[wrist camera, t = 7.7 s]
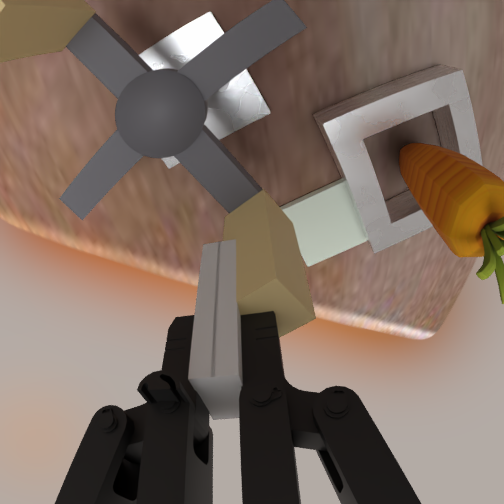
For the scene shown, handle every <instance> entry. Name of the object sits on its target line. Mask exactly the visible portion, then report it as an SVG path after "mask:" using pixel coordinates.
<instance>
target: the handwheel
mask: <svg viewBox="0 0 504 504" xmlns="http://www.w3.org/2000/svg"><path fill="white" fill-rule="evenodd" d="M306 28H307V27H306V26H305V25H304V23H303V22H302V21H301V20H300V19H299V17H298V16H297V15H296V14H295V13H294V11H293V10H292V9H291V8H290V7H289V6H288V4H287V3H286V2H285V1H284V0H272V1H271V2H269V3H268V4H266V5H264V6H263V7H261V8H260V9H258V10H257V11H255V12H254V13H252V14H251V15H249V16H248V17H246V18H245V19H244V20H242V21H241V22H239V23H238V24H236V25H235V26H234V27H232V28H231V29H230V30H228V31H227V32H226V33H224V34H223V35H221V36H220V37H219V38H218V39H216V40H215V41H214V42H212V43H211V44H210V45H208V46H207V47H206V48H205V49H203V50H202V51H201V52H200V53H198V54H197V55H196V56H195V57H194V58H192V59H191V60H190V61H189V62H188V63H186V64H185V65H184V66H183V67H182V68H181V69H179V70H177V69H172V68H163V69H157V70H153V69H152V68H151V67H150V66H149V65H148V64H147V63H146V62H145V61H144V60H143V59H142V58H141V57H140V56H139V55H138V54H137V53H136V52H135V51H134V50H133V49H132V48H131V47H130V46H129V45H128V44H127V43H126V42H125V41H124V40H123V39H122V38H121V37H120V36H119V35H118V34H117V33H116V32H115V31H114V30H113V29H112V28H110V27H109V26H108V25H107V24H106V23H105V22H104V21H103V20H102V19H101V18H100V17H99V16H98V15H97V14H96V11H95V10H94V9H93V8H92V7H90V6H89V5H88V4H87V3H86V2H85V1H84V0H0V63H1V62H6V61H10V60H15V59H19V58H24V57H30V56H35V55H41V54H47V53H53V52H60V51H62V50H63V49H64V48H65V47H67V48H68V49H69V50H70V51H71V52H72V53H73V54H74V55H75V56H76V57H77V58H78V59H79V60H80V61H81V62H82V63H83V64H84V65H85V66H86V67H87V68H88V69H89V70H90V71H91V72H92V73H93V74H94V75H95V76H96V77H97V78H98V79H99V80H100V81H101V82H102V83H103V84H104V85H105V86H106V87H107V88H108V89H109V90H110V91H111V92H112V93H113V94H114V95H115V96H116V98H117V99H118V101H117V104H116V109H115V121H116V126H117V130H116V131H115V132H114V133H113V135H112V136H111V137H110V138H109V139H108V140H107V141H106V142H105V143H104V144H103V146H102V147H101V148H100V149H99V150H98V151H97V152H96V154H95V155H94V156H93V157H92V158H91V159H90V161H89V162H88V163H87V164H86V165H85V167H84V168H83V169H82V170H81V172H80V173H79V174H78V175H77V176H76V178H75V179H74V180H73V181H72V183H71V184H70V185H69V187H68V188H67V189H66V190H65V192H64V193H63V194H62V196H61V197H60V198H59V199H60V200H61V201H62V202H63V203H64V204H65V205H66V206H68V207H69V208H70V209H71V210H72V211H73V212H74V213H75V214H76V215H77V216H78V217H79V218H80V219H81V220H83V219H84V218H85V217H86V216H87V215H88V213H89V212H90V211H91V210H92V209H93V208H94V207H95V206H96V204H97V203H98V202H99V201H100V200H101V199H102V198H103V197H104V196H105V195H106V194H107V192H108V191H109V190H110V189H111V188H112V187H113V186H114V185H115V184H116V183H117V182H118V181H119V180H120V179H121V178H122V177H123V176H124V175H125V174H126V173H127V172H128V171H129V170H130V169H131V168H132V167H133V166H134V165H135V164H136V163H137V162H138V161H139V160H140V159H141V158H142V157H143V156H147V157H151V158H167V157H171V156H174V157H175V158H176V159H177V160H178V161H179V162H180V163H181V164H182V165H183V166H184V167H185V168H186V169H187V170H188V171H189V172H190V173H191V174H192V175H193V176H194V177H195V178H196V179H197V180H198V181H199V182H200V184H201V185H202V186H203V187H204V188H205V189H206V190H207V191H208V192H209V193H210V194H211V195H212V196H213V197H214V198H215V199H216V200H217V201H218V202H219V203H220V204H221V205H222V206H223V207H224V208H225V209H226V210H227V212H228V213H229V214H228V215H227V216H225V221H224V232H223V241H227V240H233V239H236V302H237V304H238V308H239V312H240V315H246V314H253V313H261V312H268V311H274V313H275V315H276V321H277V327H278V333H279V338H280V337H281V336H283V335H285V334H287V333H289V332H291V331H293V330H295V329H297V328H299V327H301V326H303V325H305V324H307V323H308V322H310V321H312V320H314V319H315V318H316V316H315V312H314V307H313V303H312V299H311V294H310V290H309V286H308V282H307V278H306V273H305V269H304V265H303V261H302V257H301V253H300V249H299V245H298V241H297V237H296V233H295V229H294V225H293V223H292V221H291V220H290V219H289V218H288V217H287V215H286V214H285V213H284V212H283V211H282V210H281V208H280V207H279V206H278V205H277V204H276V202H275V201H274V200H273V199H272V198H271V197H270V195H269V194H268V193H267V192H266V191H265V190H264V189H262V188H261V187H260V186H259V185H258V183H257V182H256V181H255V180H254V179H253V178H252V177H251V175H250V174H249V173H248V172H247V171H246V170H245V169H244V167H243V166H242V165H241V164H240V163H239V162H238V161H237V160H236V158H235V157H234V156H233V155H232V154H231V153H230V152H229V151H228V149H227V148H226V147H225V146H224V145H223V144H222V143H221V142H220V141H219V140H218V138H217V137H216V136H215V135H214V134H213V133H212V132H211V131H210V130H209V129H208V127H207V126H206V125H205V121H206V118H207V113H208V103H207V99H208V98H209V97H210V96H212V95H213V94H214V93H215V92H217V91H218V90H219V89H220V88H222V87H223V86H224V85H225V84H227V83H228V82H229V81H231V80H232V79H233V78H234V77H236V76H237V75H238V74H240V73H241V72H242V71H244V70H245V69H247V68H248V67H249V66H251V65H252V64H253V63H255V62H256V61H258V60H259V59H260V58H262V57H263V56H265V55H266V54H268V53H269V52H270V51H272V50H273V49H275V48H276V47H278V46H279V45H281V44H282V43H284V42H285V41H287V40H288V39H290V38H291V37H293V36H294V35H296V34H298V33H299V32H301V31H302V30H304V29H306Z"/></svg>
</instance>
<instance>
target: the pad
mask: <svg viewBox="0 0 504 504" xmlns="http://www.w3.org/2000/svg"><path fill="white" fill-rule="evenodd" d="M280 208H281V210H282V211H283V212H284V213H285V214H286V215H287V217H288V218H289V219H290V220H291V221H292V223H293V225H294V229H295V233H296V237H297V241H298V245H299V249H300V253H301V255H302V257H303V259H304V261H305V263H306V264H307V266H308V267H309V266H311V265H313V264H316V263H318V262H320V261H323V260H325V259H327V258H330V257H332V256H334V255H336V254H339V253H341V252H343V251H345V250H348V249H350V248H352V247H354V246H357V245H359V244H361V243H363V242H365V241H367V239H366V237H365V235H364V232H363V229H362V227H361V224H360V221H359V219H358V216H357V213H356V211H355V208H354V206H353V203H352V201H351V198H350V196H349V193H348V191H347V188H346V186H345V183H344V181H343V180H342V179H340V180H337V181H335V182H333V183H331V184H329V185H326V186H324V187H322V188H320V189H318V190H315V191H313V192H311V193H309V194H307V195H305V196H302V197H300V198H298V199H296V200H294V201H292V202H290V203H287V204H285V205H283V206H281V207H280Z"/></svg>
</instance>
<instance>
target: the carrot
mask: <svg viewBox="0 0 504 504" xmlns="http://www.w3.org/2000/svg"><path fill="white" fill-rule="evenodd" d="M399 166H400V171H401V175H402V177H403V179H404V181H405V183H406V184H407V186H408V188H409V190H410V191H411V193H412V195H413V197H414V198H415V200H416V201H417V203H418V204H419V206H420V208H421V209H422V211H423V213H424V214H425V216H426V217H427V218H428V220H429V221H430V222H431V224H432V225H433V227H434V228H435V229H436V231H437V232H438V233H439V235H440V236H441V237H442V239H443V240H444V242H445V243H446V244H447V246H448V247H449V248H450V250H451V251H452V252H453V253H454V254H455V255H457V256H458V257H482V256H484V261H483V265H482V267H481V268H480V269H479V270H478V272H477V273H476V275H477V276H478V277H479V278H480V279H481V280H484V279H487V278H488V277H489V276H490V275H491V274H492V273H493V272H494V270H495V273H496V277H497V281H498V285H499V291H500V297H501V301H502V304H504V264H503V261H502V258H501V256H502V255H504V182H503V181H502V180H501V179H500V178H499V177H498V176H496V175H495V174H493V173H492V172H490V171H489V170H487V169H486V168H484V167H483V166H481V165H480V164H478V163H477V162H475V161H473V160H471V159H470V158H468V157H466V156H464V155H463V154H460V153H458V152H455V151H452V150H449V149H446V148H443V147H439V146H435V145H429V144H423V143H411V144H408V145H406V146H404V147H403V148H402V149H400V155H399Z"/></svg>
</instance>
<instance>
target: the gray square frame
mask: <svg viewBox="0 0 504 504" xmlns="http://www.w3.org/2000/svg"><path fill="white" fill-rule="evenodd" d="M430 111H432V112H433V115H434V119H435V122H436V126H437V130H438V134H439V138H440V142H441V146H442V147H443V148H446V149H449V150H452V151H455V152H458V153H460V154H463V155H464V156H466V157H468V158H470V159H471V160H473V161H475V162H477V163H478V164H480V165H481V166H482V159H481V152H480V146H479V140H478V134H477V128H476V123H475V118H474V114H473V109H472V105H471V100H470V96H469V92H468V88H467V84H466V81H465V77H464V74H463V70H461V69H457V68H453V67H449V66H444V65H437V66H434V67H431V68H428V69H425V70H422V71H419V72H416V73H413V74H410V75H408V76H405V77H402V78H399V79H397V80H394V81H391V82H389V83H386V84H383V85H381V86H378V87H376V88H373V89H371V90H368V91H366V92H363V93H361V94H358V95H356V96H353V97H351V98H348V99H346V100H344V101H341V102H339V103H337V104H334V105H332V106H330V107H327V108H325V109H323V110H321V111H318V112H316V113H314V114H313V116H314V118H315V120H316V122H317V124H318V127H319V129H320V131H321V133H322V135H323V137H324V139H325V142H326V144H327V146H328V148H329V150H330V153H331V155H332V157H333V159H334V162H335V164H336V166H337V169H338V171H339V173H340V176H341V178H342V180H343V181H344V183H345V186H346V188H347V191H348V193H349V196H350V198H351V201H352V203H353V206H354V208H355V211H356V213H357V216H358V219H359V221H360V224H361V227H362V229H363V232H364V235H365V237H366V239H367V241H368V243H369V244H370V246H371V248H372V250H373V252H374V254H375V253H377V252H379V251H381V250H383V249H386V248H388V247H390V246H392V245H394V244H396V243H399V242H401V241H403V240H405V239H407V238H409V237H411V236H414V235H416V234H418V233H420V232H422V231H424V230H426V229H428V228H430V227H432V226H433V225H432V224H431V222H430V221H429V220H428V218H427V217H426V216H425V214H424V213H423V211H422V209H421V208H420V206H419V204H418V203H417V201H416V200H415V198H414V197H413V195H412V193H411V191H410V190H408V191H406V192H404V193H402V194H400V195H397V196H395V197H393V198H391V199H389V200H386V201H384V198H383V195H382V192H381V189H380V186H379V183H378V180H377V177H376V174H375V171H374V168H373V165H372V163H371V160H370V157H369V154H368V152H367V149H366V146H365V144H364V141H363V139H365V138H367V137H369V136H372V135H374V134H376V133H379V132H381V131H383V130H386V129H388V128H391V127H393V126H395V125H398V124H400V123H403V122H405V121H407V120H410V119H412V118H415V117H417V116H420V115H422V114H425V113H427V112H430Z"/></svg>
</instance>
